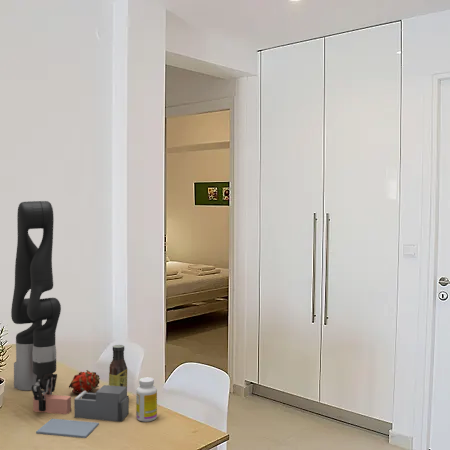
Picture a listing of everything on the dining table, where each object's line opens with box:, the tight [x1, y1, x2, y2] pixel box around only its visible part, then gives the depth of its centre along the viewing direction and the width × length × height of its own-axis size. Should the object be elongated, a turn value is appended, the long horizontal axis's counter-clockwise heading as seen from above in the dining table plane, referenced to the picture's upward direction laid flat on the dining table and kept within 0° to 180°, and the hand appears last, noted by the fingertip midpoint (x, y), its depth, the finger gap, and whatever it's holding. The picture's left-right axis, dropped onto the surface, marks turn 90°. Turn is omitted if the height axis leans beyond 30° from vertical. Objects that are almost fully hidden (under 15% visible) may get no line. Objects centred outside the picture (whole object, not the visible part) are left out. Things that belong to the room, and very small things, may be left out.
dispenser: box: [73, 384, 130, 423], centre depth 186 cm, size 16×7×9 cm, turn 80°
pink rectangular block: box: [32, 393, 72, 415], centre depth 190 cm, size 12×3×5 cm, turn 80°
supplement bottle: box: [135, 376, 158, 423], centre depth 185 cm, size 7×7×13 cm
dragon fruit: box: [68, 369, 101, 394], centre depth 207 cm, size 8×8×12 cm
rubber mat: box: [35, 418, 100, 439], centre depth 176 cm, size 16×10×1 cm, turn 80°
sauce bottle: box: [108, 344, 128, 388], centre depth 198 cm, size 6×6×20 cm
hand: (44, 408), depth 190 cm, fingers closed on pink rectangular block, 2 cm apart
